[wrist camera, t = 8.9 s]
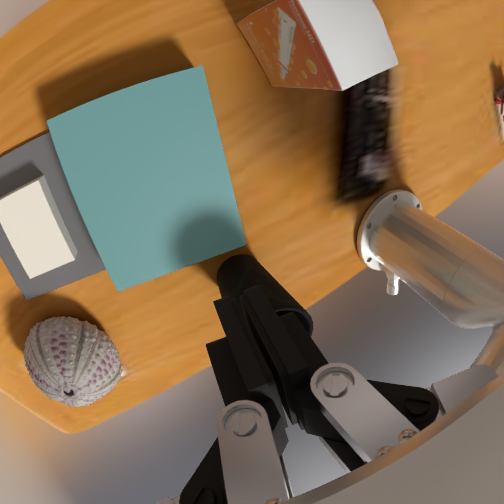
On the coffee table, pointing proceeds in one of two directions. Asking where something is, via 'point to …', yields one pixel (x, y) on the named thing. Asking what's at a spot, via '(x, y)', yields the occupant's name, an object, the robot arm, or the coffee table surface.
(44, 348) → the sea urchin shell
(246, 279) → the cup
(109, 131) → the plate
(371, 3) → the small box
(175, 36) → the coffee table surface
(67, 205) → the mat
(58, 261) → the off-white foam block
